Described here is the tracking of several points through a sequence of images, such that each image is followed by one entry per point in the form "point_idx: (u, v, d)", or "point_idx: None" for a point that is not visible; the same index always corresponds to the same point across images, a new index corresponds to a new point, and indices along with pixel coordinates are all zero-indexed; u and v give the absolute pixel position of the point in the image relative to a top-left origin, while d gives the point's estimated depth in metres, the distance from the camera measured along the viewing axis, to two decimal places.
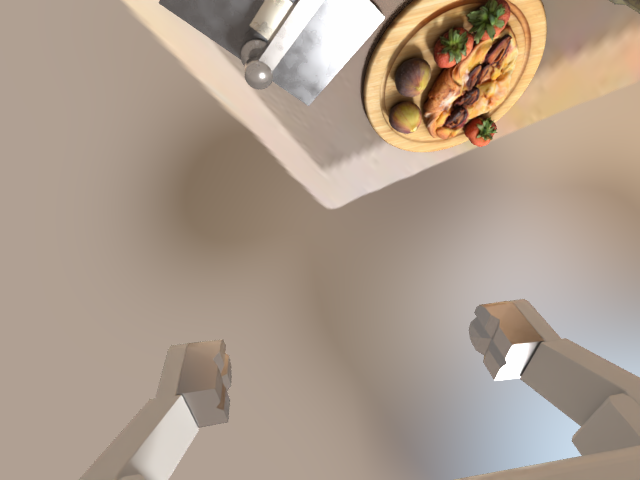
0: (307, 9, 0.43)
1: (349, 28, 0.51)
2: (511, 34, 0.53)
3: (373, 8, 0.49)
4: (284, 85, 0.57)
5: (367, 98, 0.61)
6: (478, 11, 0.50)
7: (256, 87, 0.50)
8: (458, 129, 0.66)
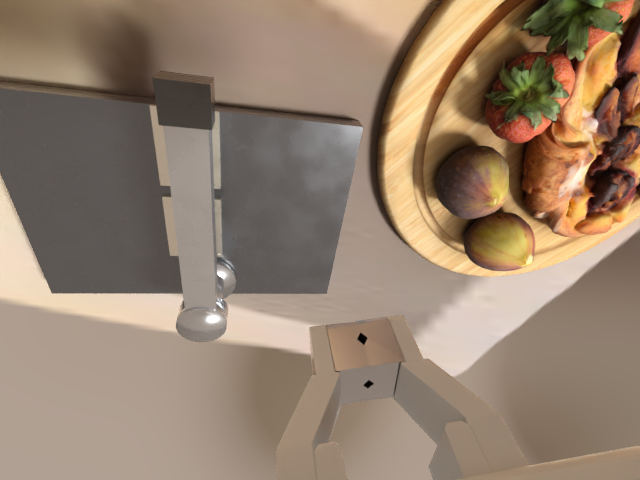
0: (195, 214, 0.22)
1: (314, 175, 0.28)
2: None
3: (333, 127, 0.26)
4: (273, 289, 0.35)
5: (411, 241, 0.34)
6: (546, 5, 0.22)
7: (210, 339, 0.29)
8: (626, 205, 0.31)
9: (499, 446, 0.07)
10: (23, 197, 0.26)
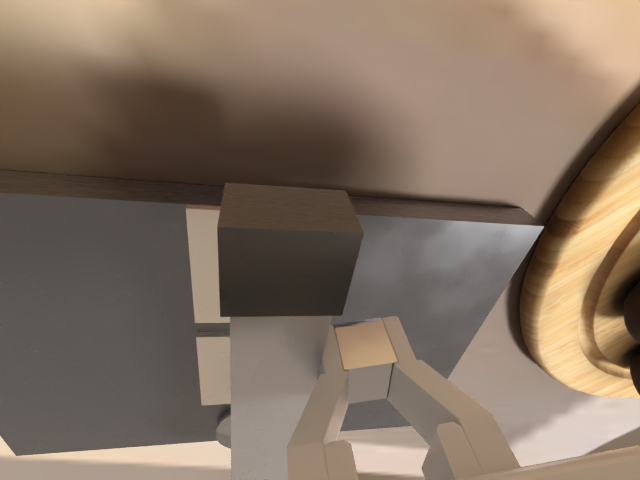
0: (273, 431, 0.11)
1: (444, 294, 0.17)
2: None
3: (497, 228, 0.15)
4: (345, 426, 0.24)
5: (551, 367, 0.23)
6: None
7: None
8: None
9: (491, 447, 0.07)
10: None
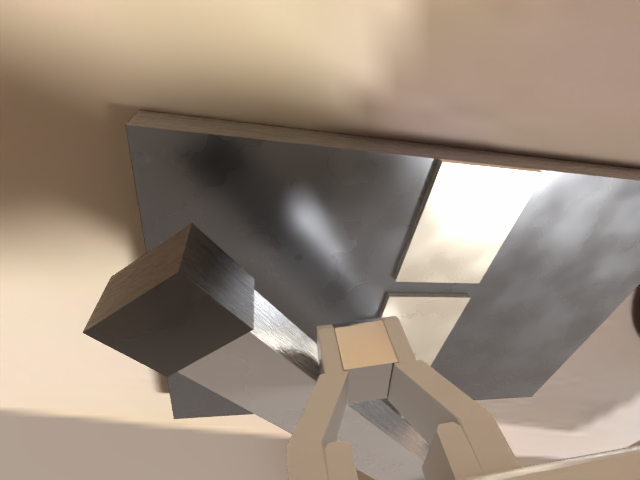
0: None
1: (614, 259, 0.18)
2: None
3: None
4: (469, 396, 0.25)
5: None
6: None
7: None
8: None
9: (491, 448, 0.07)
10: None
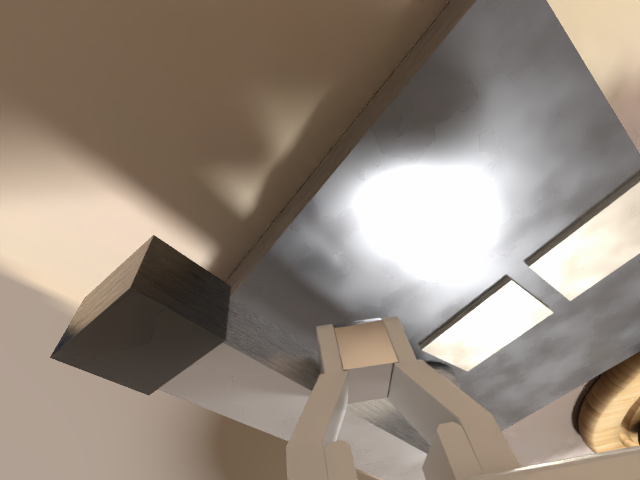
0: None
1: None
2: None
3: None
4: None
5: (604, 414, 0.28)
6: None
7: None
8: None
9: (491, 447, 0.07)
10: (348, 186, 0.12)
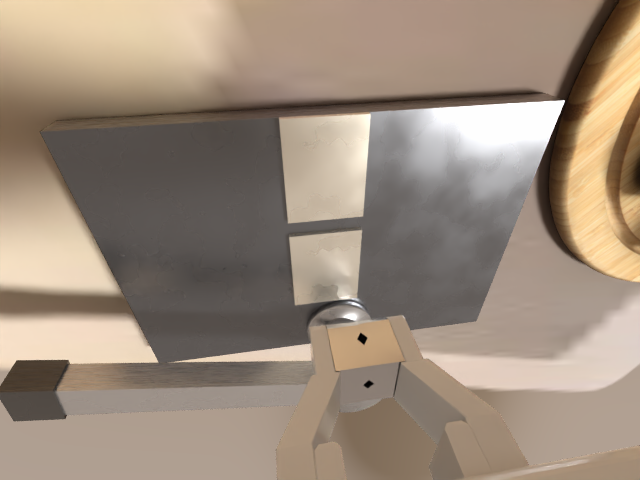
0: (174, 398, 0.19)
1: (485, 179, 0.20)
2: None
3: (522, 108, 0.18)
4: (412, 325, 0.28)
5: (587, 253, 0.26)
6: None
7: None
8: None
9: (499, 446, 0.07)
10: (123, 262, 0.20)
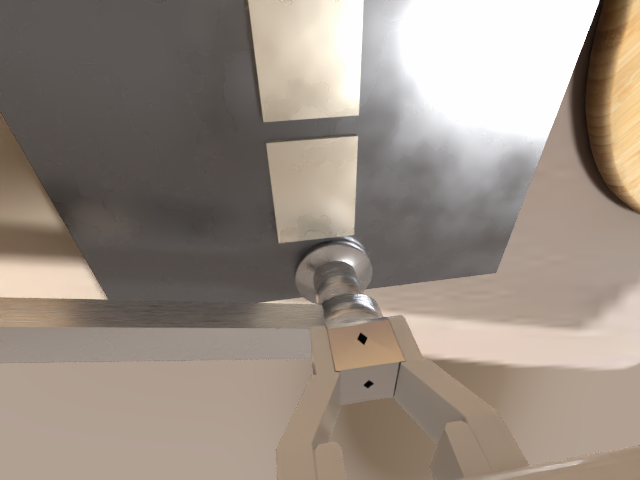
0: (119, 343, 0.15)
1: (513, 66, 0.16)
2: None
3: None
4: (420, 276, 0.24)
5: (629, 184, 0.21)
6: None
7: None
8: None
9: (499, 446, 0.07)
10: (57, 176, 0.16)
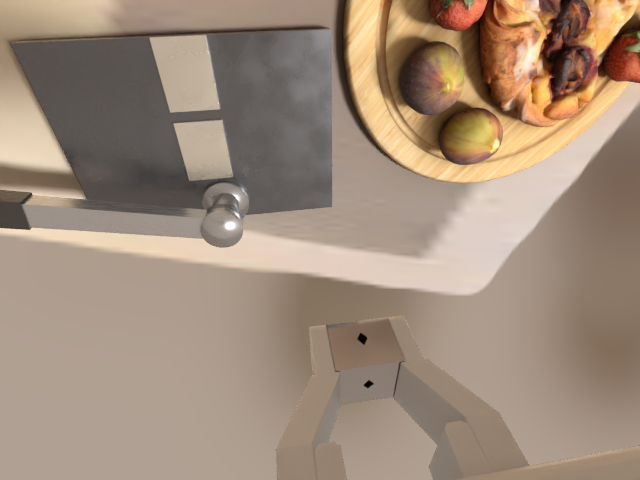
0: (98, 219, 0.31)
1: (297, 85, 0.32)
2: None
3: (305, 34, 0.29)
4: (283, 207, 0.39)
5: (392, 152, 0.37)
6: None
7: (239, 226, 0.33)
8: (591, 83, 0.33)
9: (499, 446, 0.07)
10: (67, 139, 0.32)
